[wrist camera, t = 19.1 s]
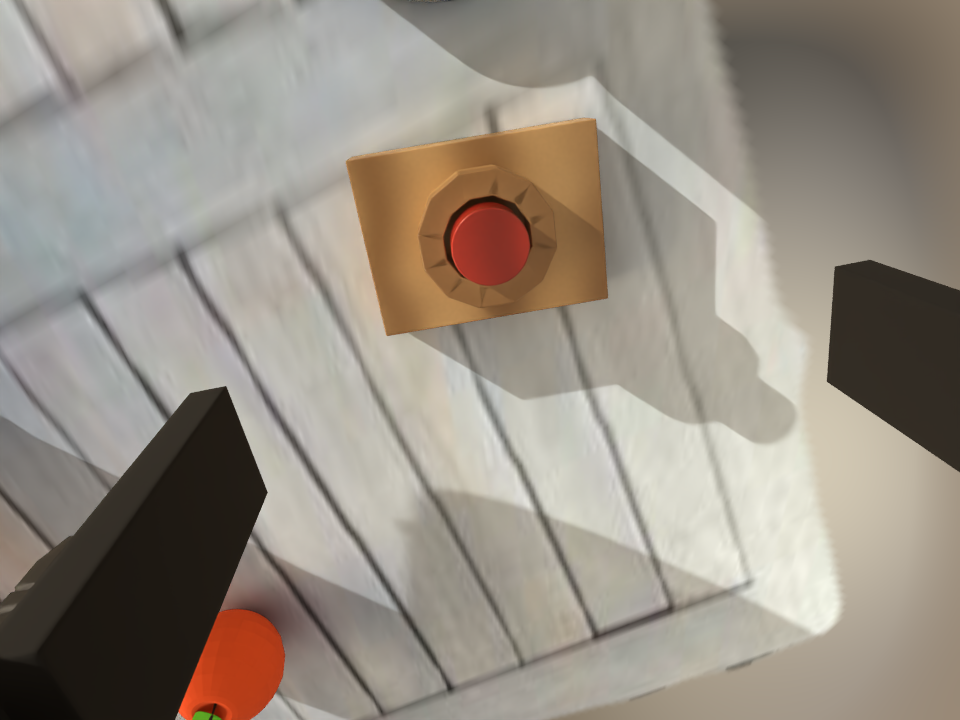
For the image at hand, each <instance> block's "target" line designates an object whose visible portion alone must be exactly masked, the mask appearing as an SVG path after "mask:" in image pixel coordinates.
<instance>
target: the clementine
mask: <svg viewBox="0 0 960 720" xmlns="http://www.w3.org/2000/svg"><path fill="white" fill-rule="evenodd" d="M284 661H285V653H284V648H283V644H282V640H281V636H280V635H279V633H278V631H277V630H276V628H275V627H274V626H273V625H272V623H271V622H270V621H269V620H267V619H266V618H265V617H264V616H262V615H260V614H258V613H256V612H252V611H249V610H243V609H232V610H226V611H222V612H219V613H218V615H217V618H216V620H215V623H214V625H213V628H212V630H211V633H210V635H209V637H208V640H207V642H206V645H205V647H204V650H203V652H202V655H201V657H200V660H199V662H198V664H197V667H196V669H195V672H194V674H193V677H192V679H191V682H190V684H189V687H188V689H187V691H186V694H185V696H184V699H183V701H182V704H181V706H180V709H179V711H178V712H179V713H180V714H181V716H182V717H184V718H185V719H186V720H250V719H251V718H253V717H254V716H256V715H257V714H258V713H259V712H261V711H262V710H263V709H264V708H265V707H266V705H267V704H268V703H269V702H270V700H271V699H272V698H273V696H274V694H275V693H276V691H277V689H278V687H279V684H280V682H281V679H282V677H283V670H284Z"/></svg>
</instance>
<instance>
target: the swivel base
mask: <svg viewBox="0 0 960 720" xmlns="http://www.w3.org/2000/svg"><path fill="white" fill-rule="evenodd" d="M408 1H416V2H439V1H449V0H408Z"/></svg>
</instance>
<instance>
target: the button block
mask: <svg viewBox="0 0 960 720" xmlns="http://www.w3.org/2000/svg"><path fill="white" fill-rule="evenodd" d="M346 165H347V170H348V174H349V178H350V182H351V187H352V191H353V195H354V199H355V204H356V208H357V212H358V217H359V221H360V225H361V229H362V234H363V238H364V242H365V246H366V251H367V255H368V259H369V264H370V268H371V272H372V276H373V281H374V285H375V289H376V293H377V298H378V302H379V306H380V310H381V315H382V319H383V323H384V328H385V332H386V335H387V336H390V335H396V334H401V333H407V332H413V331H419V330H425V329H431V328H437V327H442V326H448V325H454V324H460V323H466V322H472V321H478V320H483V319H489V318H495V317H501V316H507V315H513V314H519V313H524V312H530V311H536V310H542V309H548V308H554V307H560V306H565V305H571V304H577V303H583V302H589V301H595V300H601V299H607V298H608V289H607V275H606V260H605V245H604V230H603V216H602V201H601V186H600V171H599V157H598V142H597V127H596V119H592V118H580V119H574V120H568V121H562V122H556V123H550V124H544V125H538V126H532V127H526V128H520V129H514V130H509V131H503V132H497V133H491V134H485V135H479V136H473V137H467V138H461V139H455V140H449V141H443V142H437V143H431V144H425V145H419V146H413V147H407V148H402V149H396V150H390V151H384V152H378V153H372V154H366V155H360V156H354V157H351V158H350V159H348V160H347V161H346ZM481 202H495V203H499V204H502V205H504V206H506V207H508V208H509V209H511V210H512V211H513V212H514V213H515V214H516V215H517V216H518V218H519V219H520V220H521V221H522V223H523V224H524V226H525V228H526V230H527V232H528V235H529V240H530V251H529V256H528V259H527V262H526V264H525V266H524V267H523V269H522V270H521V271H520V272H519V274H518V275H516V276H515V277H514V278H513V279H511V280H510V281H508V282H506V283H503V284H500V285H495V286H484V285H479V284H476V283H474V282H472V281H470V280H468V279H467V278H465V277H464V276H463V275H462V274H461V273H460V272H459V270H458V269H457V267H456V265H455V263H454V261H453V258H452V253H451V246H450V235H451V230H452V227H453V225H454V222H455V221H456V219H457V218H458V216H459V215H460V214H461V213H462V212H463V211H464V210H466V209H467V208H468V207H470V206H472V205H475V204H477V203H481Z"/></svg>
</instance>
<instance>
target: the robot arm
mask: <svg viewBox="0 0 960 720" xmlns="http://www.w3.org/2000/svg"><path fill="white" fill-rule="evenodd" d="M827 382H828V383H830V384H831V385H833V386H834V387H836V388H837V389H838V390H840V391H842V392H843V393H844V394H846V395H847V396H849V397H850V398H852V399H853V400H855V401H856V402H858V403H859V404H860V405H862V406H863V407H865V408H866V409H868V410H869V411H871V412H872V413H874V414H875V415H877V416H878V417H880V418H881V419H882V420H884V421H885V422H887V423H888V424H890V425H891V426H893V427H894V428H896V429H897V430H899V431H900V432H902V433H903V434H905V435H906V436H907V437H909V438H910V439H912V440H913V441H915V442H916V443H918V444H919V445H921V446H922V447H924V448H925V449H926V450H928V451H929V452H931V453H932V454H934V455H935V456H937V457H938V458H940V459H941V460H943V461H944V462H946V463H947V464H948V465H950V466H952V467H953V468H954V469H956V470H957V471H959V472H960V291H959V290H957V289H953V288H951V287H948V286H945V285H942V284H939V283H936V282H933V281H930V280H927V279H924V278H922V277H918V276H915V275H913V274H910V273H907V272H904V271H901V270H898V269H895V268H892V267H889V266H886V265H883V264H881V263H878V262H875V261H872V260H867V261H862V262H857V263H851V264H846V265H841V266H836V267H835V272H834V286H833V302H832V316H831V330H830V344H829V360H828V374H827ZM267 493H268V492H267V490H266V487H265V484H264V482H263V479H262V477H261V474H260V472H259V469H258V467H257V464H256V461H255V459H254V456H253V454H252V451H251V449H250V446H249V443H248V441H247V438H246V436H245V433H244V431H243V428H242V426H241V423H240V420H239V418H238V415H237V413H236V410H235V408H234V405H233V403H232V400H231V397H230V395H229V392H228V390H227V387H226V386H224V387H219V388H214V389H209V390H204V391H199V392H194V393H190V394H189V395H188V397H187V398H186V399H185V400H184V401H183V403H182V404H181V405H180V406H179V408H178V409H177V410H176V411H175V412H174V414H173V415H172V416H171V417H170V418H169V420H168V421H167V422H166V423H165V425H164V426H163V427H162V428H161V429H160V431H159V432H158V433H157V434H156V436H155V437H154V438H153V439H152V440H151V442H150V443H149V444H148V445H147V447H146V448H145V449H144V450H143V451H142V453H141V454H140V455H139V456H138V458H137V459H136V460H135V461H134V462H133V464H132V465H131V466H130V467H129V468H128V470H127V471H126V472H125V473H124V475H123V476H122V477H121V478H120V479H119V481H118V482H117V483H116V484H115V486H114V487H113V488H112V489H111V490H110V492H109V493H108V494H107V495H106V497H105V498H104V499H103V500H102V501H101V503H100V504H99V505H98V506H97V508H96V509H95V510H94V511H93V512H92V514H91V515H90V516H89V517H88V518H87V520H86V521H85V522H84V523H83V525H82V526H81V527H80V528H79V529H78V531H77V532H76V533H75V534H74V536H69V537H68V538H66V539H65V540H64V541H62V542H61V543H60V544H59V545H57V546H56V547H55V548H54V549H52V550H51V551H50V552H48V553H47V554H46V555H45V556H43V557H42V558H41V559H40V560H38V561H37V562H36V563H35V564H34V566H33V567H32V568H31V569H30V570H29V572H28V573H27V574H26V575H25V576H24V577H23V579H22V580H21V581H20V582H19V583H18V584H17V586H16V587H15V592H12V593H10V594H9V595H8V596H7V597H6V598H5V600H4V601H3V602H2V603H1V604H0V720H175V718H176V716H177V714H178V711H179V709H180V706H181V704H182V701H183V699H184V696H185V694H186V691H187V689H188V687H189V684H190V682H191V679H192V677H193V674H194V672H195V669H196V667H197V664H198V662H199V660H200V657H201V655H202V652H203V650H204V647H205V645H206V642H207V640H208V637H209V635H210V633H211V630H212V628H213V625H214V623H215V620H216V618H217V615H218V613H219V610H220V608H221V606H222V603H223V601H224V598H225V596H226V593H227V591H228V588H229V586H230V583H231V581H232V579H233V576H234V574H235V571H236V569H237V566H238V564H239V561H240V559H241V556H242V554H243V552H244V549H245V547H246V544H247V542H248V539H249V537H250V534H251V532H252V529H253V527H254V525H255V522H256V520H257V517H258V515H259V512H260V510H261V507H262V505H263V503H264V500H265V498H266V495H267Z"/></svg>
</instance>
